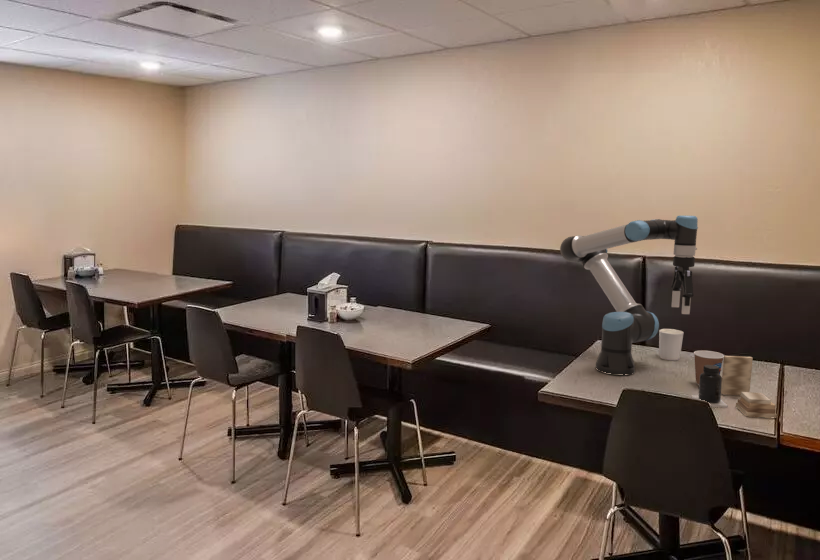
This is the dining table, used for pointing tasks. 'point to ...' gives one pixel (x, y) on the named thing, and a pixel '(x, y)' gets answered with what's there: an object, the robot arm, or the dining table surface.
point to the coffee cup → (706, 361)
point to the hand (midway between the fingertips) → (680, 310)
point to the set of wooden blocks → (744, 388)
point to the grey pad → (719, 404)
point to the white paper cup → (670, 344)
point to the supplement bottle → (710, 384)
